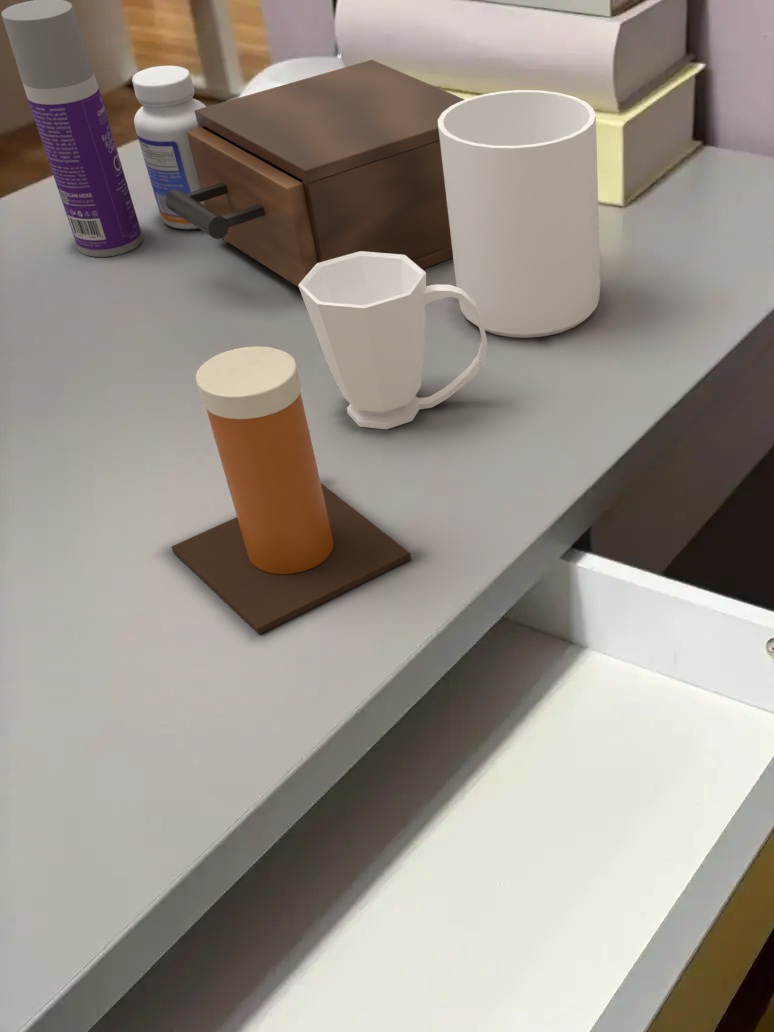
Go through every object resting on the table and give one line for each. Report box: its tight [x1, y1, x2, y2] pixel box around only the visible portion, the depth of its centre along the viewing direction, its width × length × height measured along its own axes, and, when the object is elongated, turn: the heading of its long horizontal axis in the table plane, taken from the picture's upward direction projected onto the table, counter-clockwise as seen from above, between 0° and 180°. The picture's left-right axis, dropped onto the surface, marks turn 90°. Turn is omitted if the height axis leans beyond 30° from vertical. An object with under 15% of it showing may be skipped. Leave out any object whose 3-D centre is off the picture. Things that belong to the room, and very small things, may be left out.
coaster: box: [170, 483, 412, 635], centre depth 65 cm, size 9×9×1 cm
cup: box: [297, 251, 488, 430], centre depth 71 cm, size 7×10×8 cm
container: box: [1, 0, 144, 258], centre depth 86 cm, size 5×5×15 cm
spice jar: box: [195, 345, 334, 574], centre depth 61 cm, size 5×5×10 cm
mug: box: [438, 89, 601, 339], centre depth 79 cm, size 10×12×12 cm
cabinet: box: [195, 59, 465, 270], centre depth 87 cm, size 15×15×9 cm
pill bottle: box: [131, 65, 207, 230], centre depth 90 cm, size 5×5×10 cm
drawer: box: [166, 127, 318, 288], centre depth 86 cm, size 18×13×7 cm
